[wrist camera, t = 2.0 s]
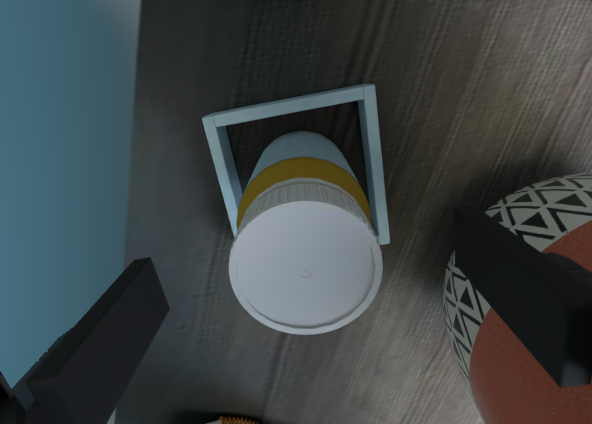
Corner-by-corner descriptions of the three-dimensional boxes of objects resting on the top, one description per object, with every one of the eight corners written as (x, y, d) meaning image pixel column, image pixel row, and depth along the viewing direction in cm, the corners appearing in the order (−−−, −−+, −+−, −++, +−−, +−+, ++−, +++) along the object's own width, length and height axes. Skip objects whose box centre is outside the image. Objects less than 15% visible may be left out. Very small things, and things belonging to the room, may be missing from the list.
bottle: (348, 209, 29) (396, 335, 15) (265, 219, 29) (235, 350, 15) (342, 123, 26) (392, 177, 12) (250, 135, 27) (199, 200, 13)
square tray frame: (211, 113, 26) (201, 117, 23) (366, 83, 25) (375, 84, 23) (247, 249, 30) (242, 267, 28) (381, 227, 29) (390, 243, 27)
